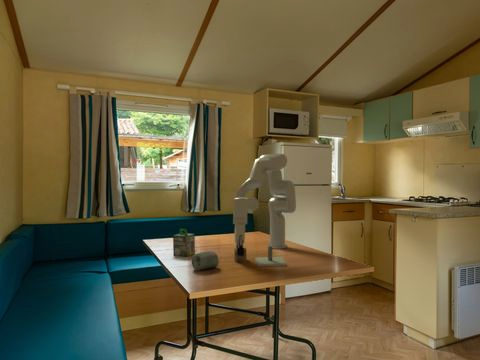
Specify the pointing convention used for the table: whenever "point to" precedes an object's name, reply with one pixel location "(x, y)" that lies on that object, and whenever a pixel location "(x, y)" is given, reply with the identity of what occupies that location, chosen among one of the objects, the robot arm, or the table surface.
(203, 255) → the grey green cylinder
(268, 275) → the table surface
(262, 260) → the post board
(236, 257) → the collar
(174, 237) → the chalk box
